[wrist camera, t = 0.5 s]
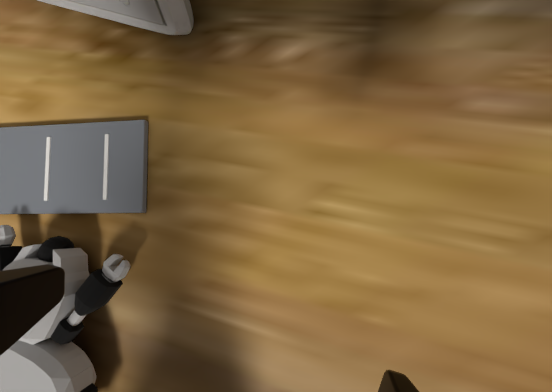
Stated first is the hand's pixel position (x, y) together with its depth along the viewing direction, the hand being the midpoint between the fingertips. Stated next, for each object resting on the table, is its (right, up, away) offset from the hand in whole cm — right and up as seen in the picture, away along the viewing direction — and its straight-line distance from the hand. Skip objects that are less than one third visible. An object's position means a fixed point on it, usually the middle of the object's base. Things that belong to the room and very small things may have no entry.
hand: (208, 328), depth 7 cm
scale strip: (-23, +5, +16) cm, 29 cm away
